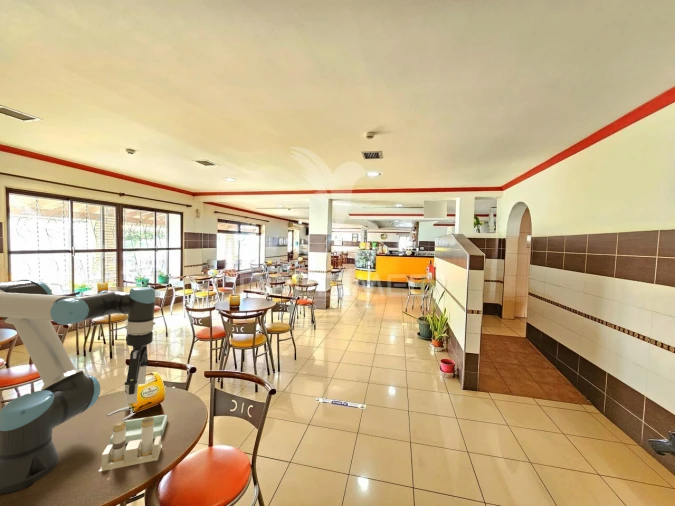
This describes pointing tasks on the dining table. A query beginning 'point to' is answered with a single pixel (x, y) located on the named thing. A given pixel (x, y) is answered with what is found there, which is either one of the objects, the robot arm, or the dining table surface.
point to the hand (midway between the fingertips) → (136, 392)
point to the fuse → (147, 436)
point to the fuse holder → (130, 455)
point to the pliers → (123, 410)
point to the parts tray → (136, 428)
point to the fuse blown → (118, 441)
